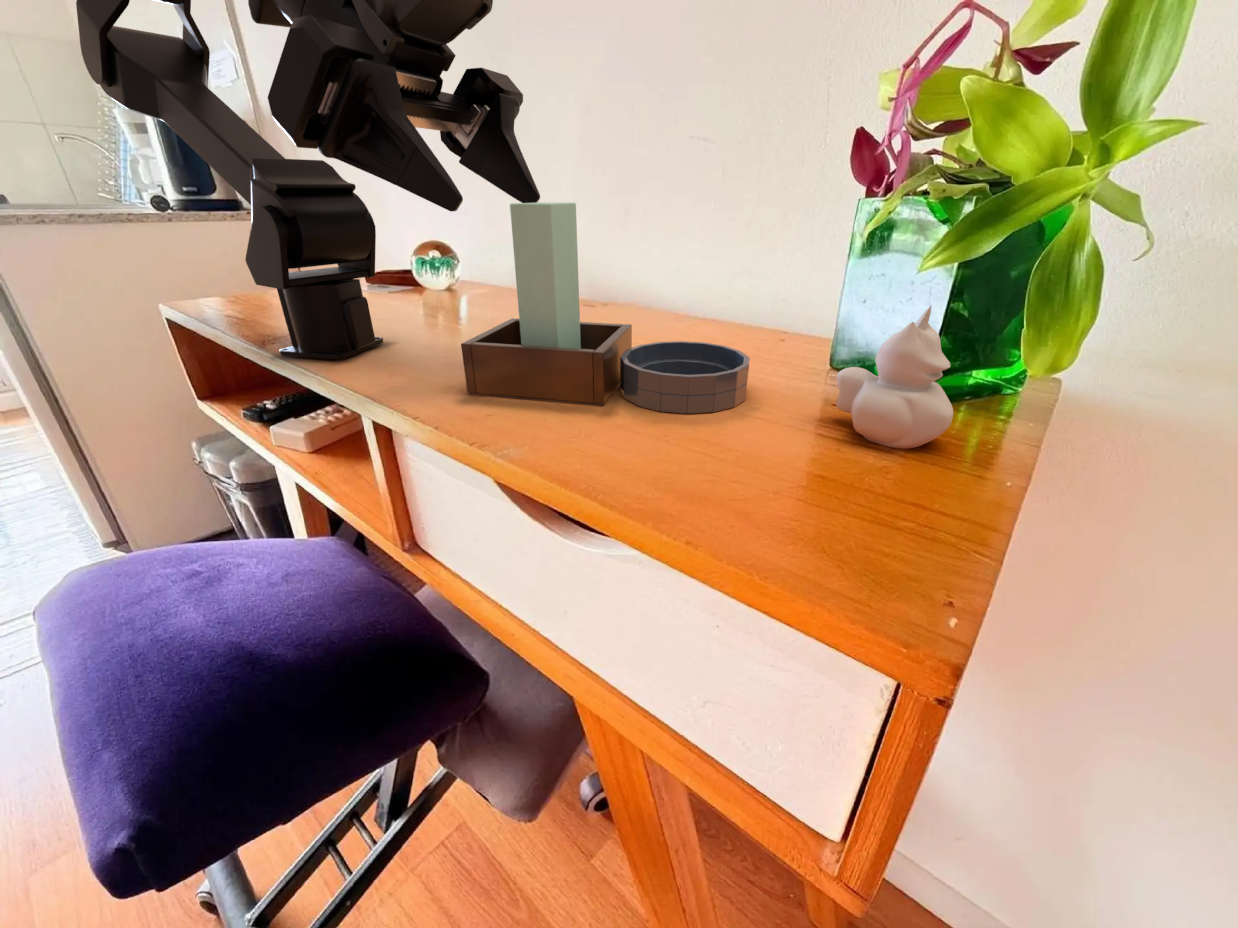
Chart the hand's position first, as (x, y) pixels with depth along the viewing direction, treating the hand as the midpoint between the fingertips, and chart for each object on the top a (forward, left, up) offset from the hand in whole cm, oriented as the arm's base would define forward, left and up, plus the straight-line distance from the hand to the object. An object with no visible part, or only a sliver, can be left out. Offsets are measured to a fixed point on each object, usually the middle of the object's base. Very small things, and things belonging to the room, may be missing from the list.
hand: (501, 204), depth 37 cm
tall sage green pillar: (+3, -1, -12) cm, 12 cm away
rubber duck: (+26, -5, -13) cm, 29 cm away
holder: (+3, -1, -12) cm, 13 cm away
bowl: (+13, -1, -12) cm, 18 cm away
